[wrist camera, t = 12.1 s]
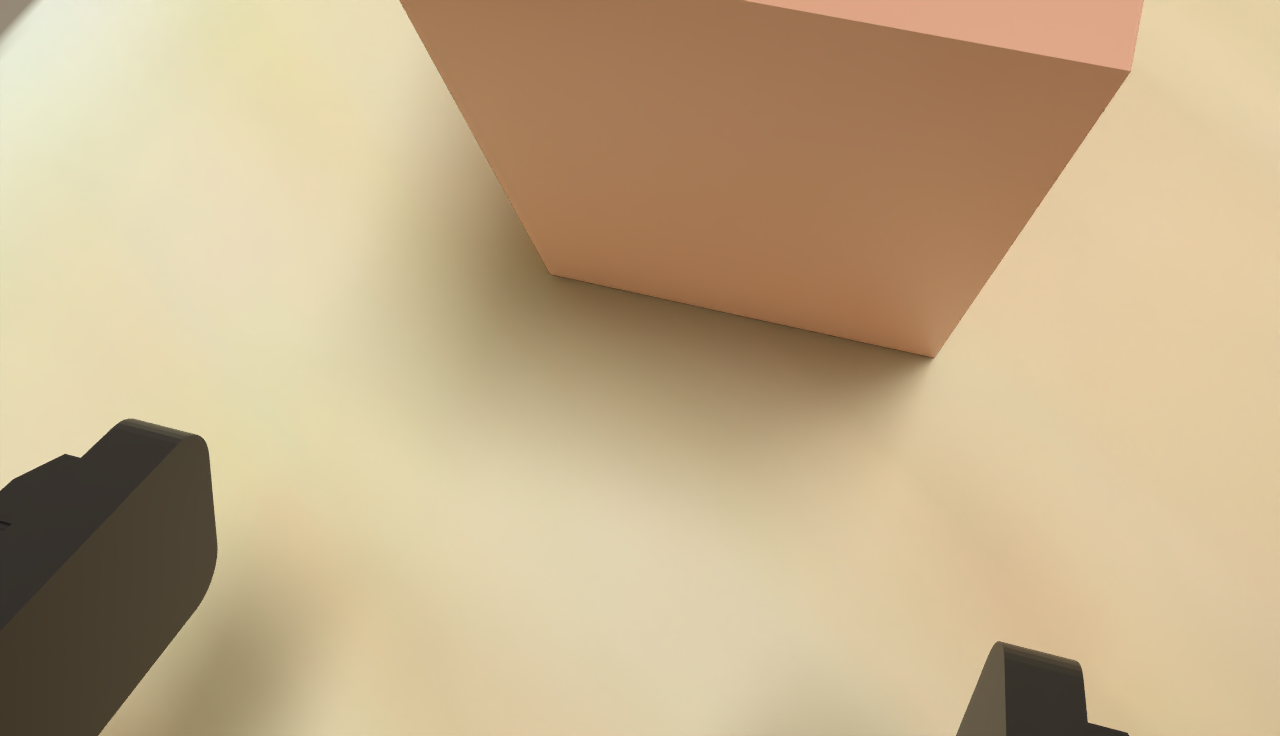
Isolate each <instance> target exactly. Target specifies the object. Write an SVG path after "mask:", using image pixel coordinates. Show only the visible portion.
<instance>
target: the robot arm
mask: <svg viewBox="0 0 1280 736" xmlns="http://www.w3.org/2000/svg"><path fill="white" fill-rule="evenodd" d="M216 559H217V536H216V526H215V515H214V504H213V493H212V482H211V471H210V460H209V452H208V447H207V444H206V442H205V440H204V439H203V438H202V437H201V436H198V435H195V434H191V433H187V432H184V431H180V430H176V429H172V428H168V427H164V426H160V425H156V424H152V423H148V422H144V421H140V420H136V419H126V420H123V421H121V422H119V423H118V424H117V425H115V426H114V427H113V428H112V429H111V430H110V431H109V432H108V433H107V434H106V435H105V436H103V437H102V438H101V439H100V440H99V441H98V442H97V443H96V444H95V445H94V446H93V447H92V448H91V449H90V450H89V451H88V452H87V453H86V454H85V455H83V456H82V457H81V458H79V457H75V456H71V455H67V454H64V455H62V456H60V457H58V458H56V459H54V460H52V461H50V462H48V463H46V464H43V465H41V466H39V467H37V468H35V469H33V470H31V471H29V472H27V473H25V474H23V475H21V476H19V477H17V478H15V479H13V480H12V481H11V482H10V483H9V484H7V485H6V486H5V487H4V488H3V489H2V490H1V491H0V736H98V735H99V734H100V732H101V731H102V730H103V728H104V727H105V726H106V725H107V723H108V722H109V721H110V719H111V718H112V717H113V716H114V714H115V713H116V712H117V710H118V709H119V708H120V707H121V705H122V704H123V703H124V701H125V700H126V699H127V698H128V696H129V695H130V694H131V692H132V691H133V690H134V689H135V687H136V686H137V685H138V683H139V682H140V681H141V680H142V678H143V677H144V676H145V674H146V673H147V672H148V671H149V669H150V668H151V667H152V665H153V664H154V663H155V662H156V660H157V659H158V658H159V656H160V655H161V654H162V653H163V651H164V650H165V649H166V647H167V646H168V645H169V644H170V642H171V641H172V640H173V638H174V637H175V636H176V635H177V633H178V632H179V631H180V629H181V628H182V627H183V626H184V624H185V623H186V622H187V620H188V619H189V618H190V617H191V615H192V614H193V613H194V611H195V610H196V609H197V607H198V606H199V604H200V603H201V601H202V600H203V598H204V596H205V594H206V592H207V590H208V588H209V585H210V583H211V580H212V577H213V574H214V570H215V565H216ZM956 736H1129V735H1128V733H1126V732H1122V731H1118V730H1114V729H1110V728H1106V727H1103V726H1099V725H1095V724H1091V723H1088V721H1087V710H1086V700H1085V690H1084V680H1083V673H1082V669H1081V666H1080V664H1079V663H1078V662H1077V661H1075V660H1071V659H1067V658H1063V657H1059V656H1055V655H1051V654H1047V653H1043V652H1039V651H1035V650H1031V649H1027V648H1023V647H1020V646H1016V645H1012V644H1008V643H1004V642H996V643H995V644H994V646H993V647H992V649H991V651H990V653H989V655H988V658H987V660H986V663H985V665H984V668H983V670H982V673H981V675H980V678H979V680H978V683H977V685H976V688H975V690H974V693H973V695H972V698H971V700H970V702H969V705H968V707H967V710H966V712H965V715H964V717H963V720H962V722H961V725H960V727H959V730H958V732H957V735H956Z"/></svg>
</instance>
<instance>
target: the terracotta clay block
mask: <svg viewBox="0 0 1280 736" xmlns="http://www.w3.org/2000/svg"><path fill="white" fill-rule="evenodd" d="M400 2H401V4H402V6H403V8H404V10H405V11H406V13H407V15H408V17H409V19H410V20H411V22H412V24H413V26H414V28H415V30H416V31H417V33H418V35H419V37H420V39H421V40H422V42H423V44H424V46H425V48H426V50H427V51H428V53H429V55H430V57H431V59H432V60H433V62H434V64H435V66H436V68H437V70H438V71H439V73H440V75H441V77H442V79H443V80H444V82H445V84H446V86H447V88H448V90H449V91H450V93H451V95H452V97H453V99H454V100H455V102H456V104H457V106H458V108H459V110H460V111H461V113H462V115H463V117H464V119H465V120H466V122H467V124H468V126H469V128H470V130H471V131H472V133H473V135H474V137H475V139H476V140H477V142H478V144H479V146H480V148H481V149H482V151H483V153H484V155H485V157H486V159H487V160H488V162H489V164H490V166H491V168H492V169H493V171H494V173H495V175H496V177H497V179H498V180H499V182H500V184H501V186H502V188H503V189H504V191H505V193H506V195H507V197H508V199H509V200H510V202H511V204H512V206H513V208H514V209H515V211H516V213H517V215H518V217H519V219H520V220H521V222H522V224H523V226H524V228H525V229H526V231H527V233H528V235H529V237H530V239H531V240H532V242H533V244H534V246H535V248H536V249H537V251H538V253H539V255H540V257H541V259H542V260H543V262H544V264H545V266H546V268H547V269H548V271H549V273H550V274H552V275H556V276H561V277H566V278H570V279H575V280H579V281H584V282H589V283H593V284H598V285H602V286H607V287H612V288H616V289H621V290H625V291H630V292H634V293H639V294H644V295H648V296H653V297H657V298H662V299H667V300H671V301H676V302H680V303H685V304H690V305H694V306H699V307H703V308H708V309H713V310H717V311H722V312H726V313H731V314H736V315H740V316H745V317H749V318H754V319H759V320H763V321H768V322H772V323H777V324H782V325H786V326H791V327H795V328H800V329H805V330H809V331H814V332H818V333H823V334H827V335H832V336H837V337H841V338H846V339H850V340H855V341H860V342H864V343H869V344H873V345H878V346H883V347H887V348H892V349H896V350H901V351H906V352H910V353H915V354H919V355H924V356H929V357H933V358H935V357H936V355H937V354H938V352H939V351H940V349H941V348H942V346H943V345H944V343H945V342H946V340H947V339H948V338H949V336H950V335H951V333H952V332H953V330H954V329H955V327H956V326H957V324H958V323H959V321H960V320H961V319H962V317H963V316H964V314H965V313H966V311H967V310H968V308H969V307H970V305H971V304H972V302H973V301H974V300H975V298H976V297H977V295H978V294H979V292H980V291H981V289H982V288H983V286H984V285H985V283H986V282H987V281H988V279H989V278H990V276H991V275H992V273H993V272H994V270H995V269H996V267H997V266H998V264H999V263H1000V262H1001V260H1002V259H1003V257H1004V256H1005V254H1006V253H1007V251H1008V250H1009V248H1010V247H1011V245H1012V244H1013V243H1014V241H1015V240H1016V238H1017V237H1018V235H1019V234H1020V232H1021V231H1022V229H1023V228H1024V226H1025V225H1026V224H1027V222H1028V221H1029V219H1030V218H1031V216H1032V215H1033V213H1034V212H1035V210H1036V209H1037V207H1038V206H1039V205H1040V203H1041V202H1042V200H1043V199H1044V197H1045V196H1046V194H1047V193H1048V191H1049V190H1050V188H1051V187H1052V186H1053V184H1054V183H1055V181H1056V180H1057V178H1058V177H1059V175H1060V174H1061V172H1062V171H1063V169H1064V168H1065V167H1066V165H1067V164H1068V162H1069V161H1070V159H1071V158H1072V156H1073V155H1074V153H1075V152H1076V150H1077V149H1078V148H1079V146H1080V145H1081V143H1082V142H1083V140H1084V139H1085V137H1086V136H1087V134H1088V133H1089V131H1090V130H1091V129H1092V127H1093V126H1094V124H1095V123H1096V121H1097V120H1098V118H1099V117H1100V115H1101V114H1102V112H1103V111H1104V110H1105V108H1106V107H1107V105H1108V104H1109V102H1110V101H1111V99H1112V98H1113V96H1114V95H1115V93H1116V92H1117V91H1118V89H1119V88H1120V86H1121V85H1122V83H1123V82H1124V80H1125V79H1126V77H1127V76H1128V74H1129V73H1130V72H1131V67H1132V62H1133V56H1134V51H1135V45H1136V40H1137V34H1138V29H1139V24H1140V18H1141V13H1142V7H1143V2H1144V0H400Z"/></svg>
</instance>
